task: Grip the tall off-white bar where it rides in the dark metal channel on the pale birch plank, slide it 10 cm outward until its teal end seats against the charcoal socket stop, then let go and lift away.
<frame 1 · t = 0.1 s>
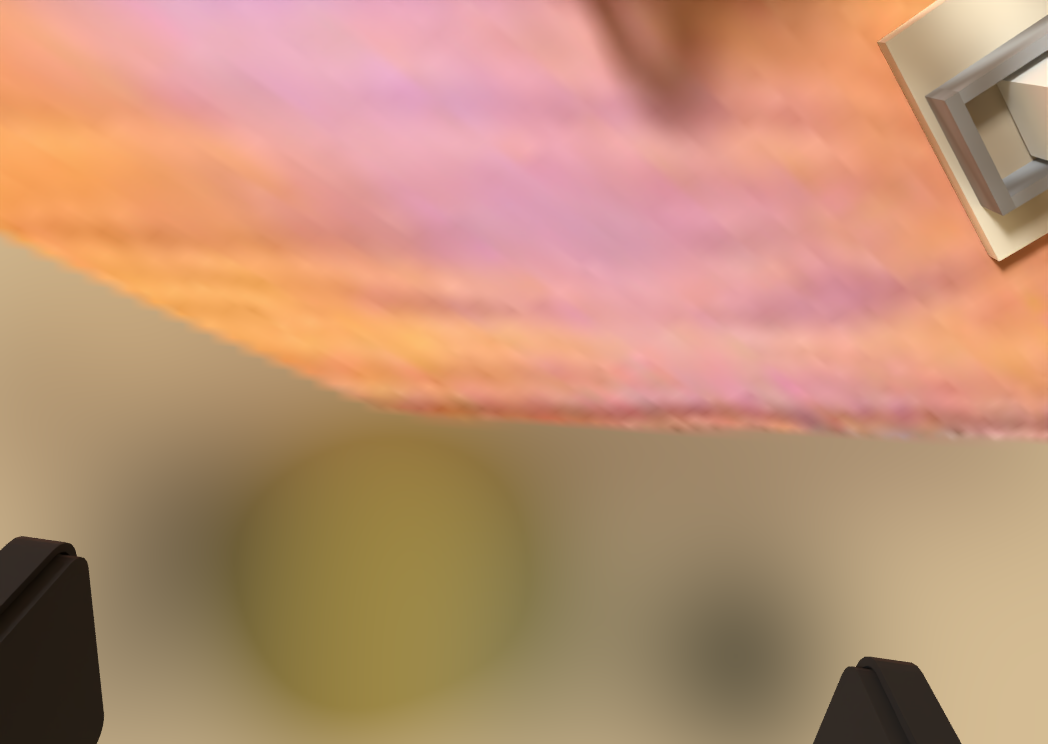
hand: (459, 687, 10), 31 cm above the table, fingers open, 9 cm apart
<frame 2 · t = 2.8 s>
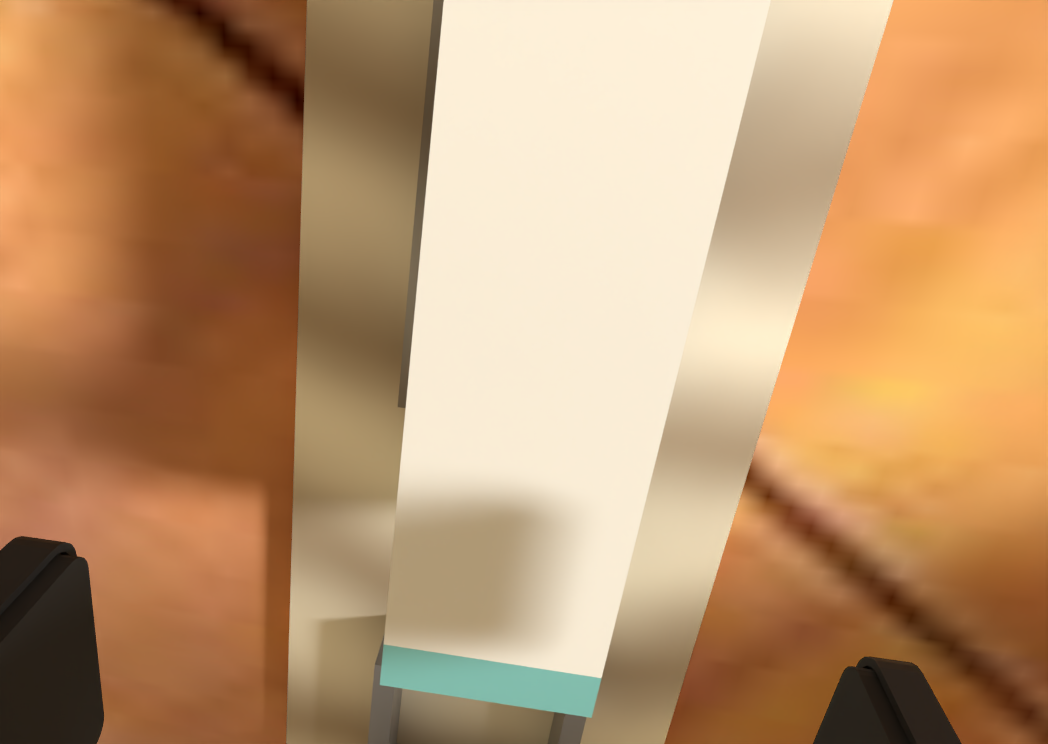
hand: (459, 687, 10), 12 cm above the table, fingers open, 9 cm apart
slip rail: (554, 263, 15), point 5 cm above the table, slide at 0.0 cm
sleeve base: (531, 373, 21), on the table
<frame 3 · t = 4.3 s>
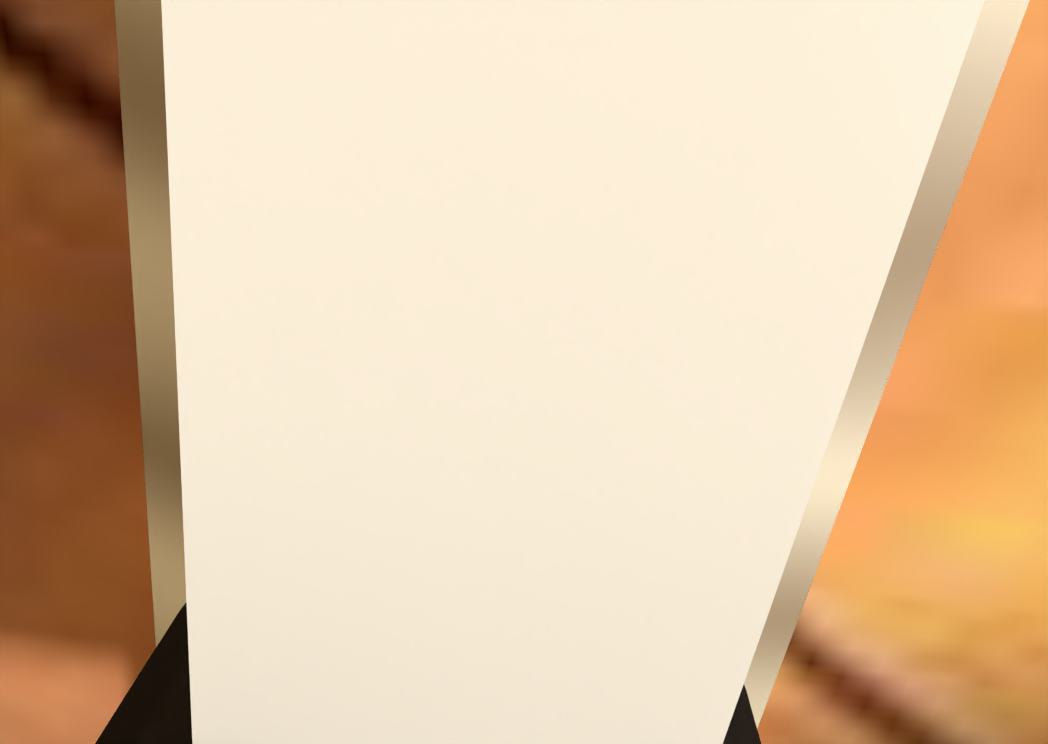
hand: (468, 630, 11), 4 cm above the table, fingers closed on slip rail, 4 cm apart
slip rail: (499, 423, 9), point 5 cm above the table, slide at 0.0 cm, touching gripper
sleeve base: (485, 510, 15), on the table
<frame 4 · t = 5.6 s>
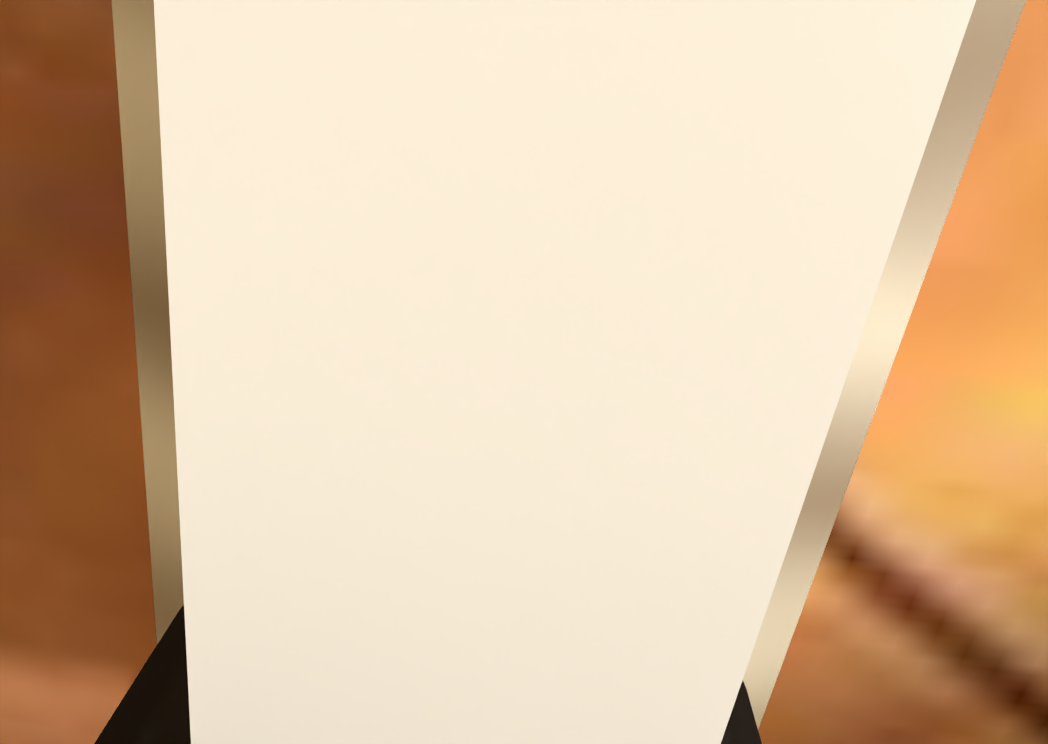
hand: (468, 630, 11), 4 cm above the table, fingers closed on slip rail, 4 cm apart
slip rail: (497, 422, 9), point 5 cm above the table, slide at 2.7 cm, touching gripper
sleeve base: (503, 385, 14), on the table
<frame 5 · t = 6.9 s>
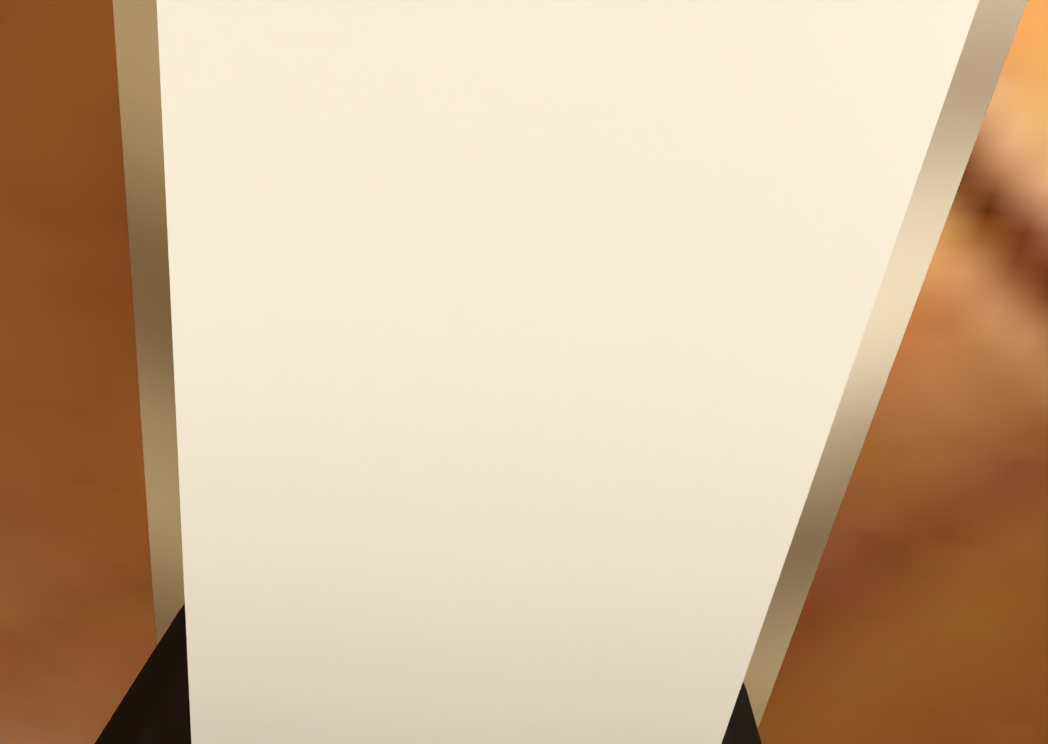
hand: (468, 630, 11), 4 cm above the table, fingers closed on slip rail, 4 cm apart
slip rail: (498, 422, 9), point 5 cm above the table, slide at 9.5 cm, touching gripper
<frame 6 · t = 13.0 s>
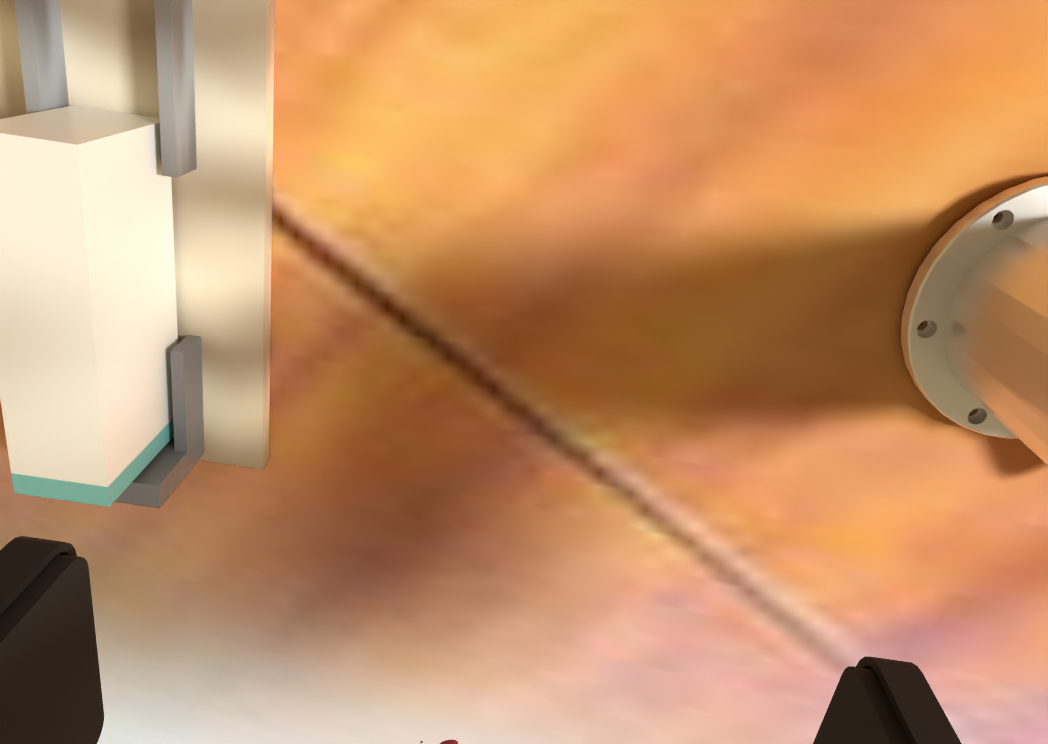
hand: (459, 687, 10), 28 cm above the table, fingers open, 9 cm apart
slip rail: (91, 305, 33), point 5 cm above the table, slide at 10.0 cm
socket: (116, 410, 37), point 4 cm above the table
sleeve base: (139, 154, 35), on the table
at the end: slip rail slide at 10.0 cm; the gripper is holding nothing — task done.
